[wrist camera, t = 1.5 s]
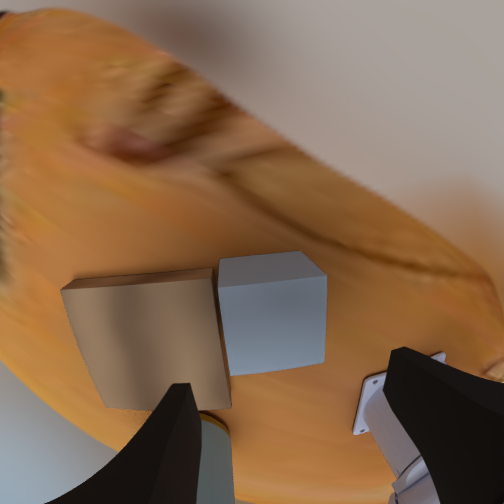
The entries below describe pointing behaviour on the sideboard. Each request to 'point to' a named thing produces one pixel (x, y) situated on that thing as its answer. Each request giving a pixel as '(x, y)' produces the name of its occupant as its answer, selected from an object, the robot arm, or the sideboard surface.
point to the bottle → (215, 464)
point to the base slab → (150, 337)
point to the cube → (272, 311)
